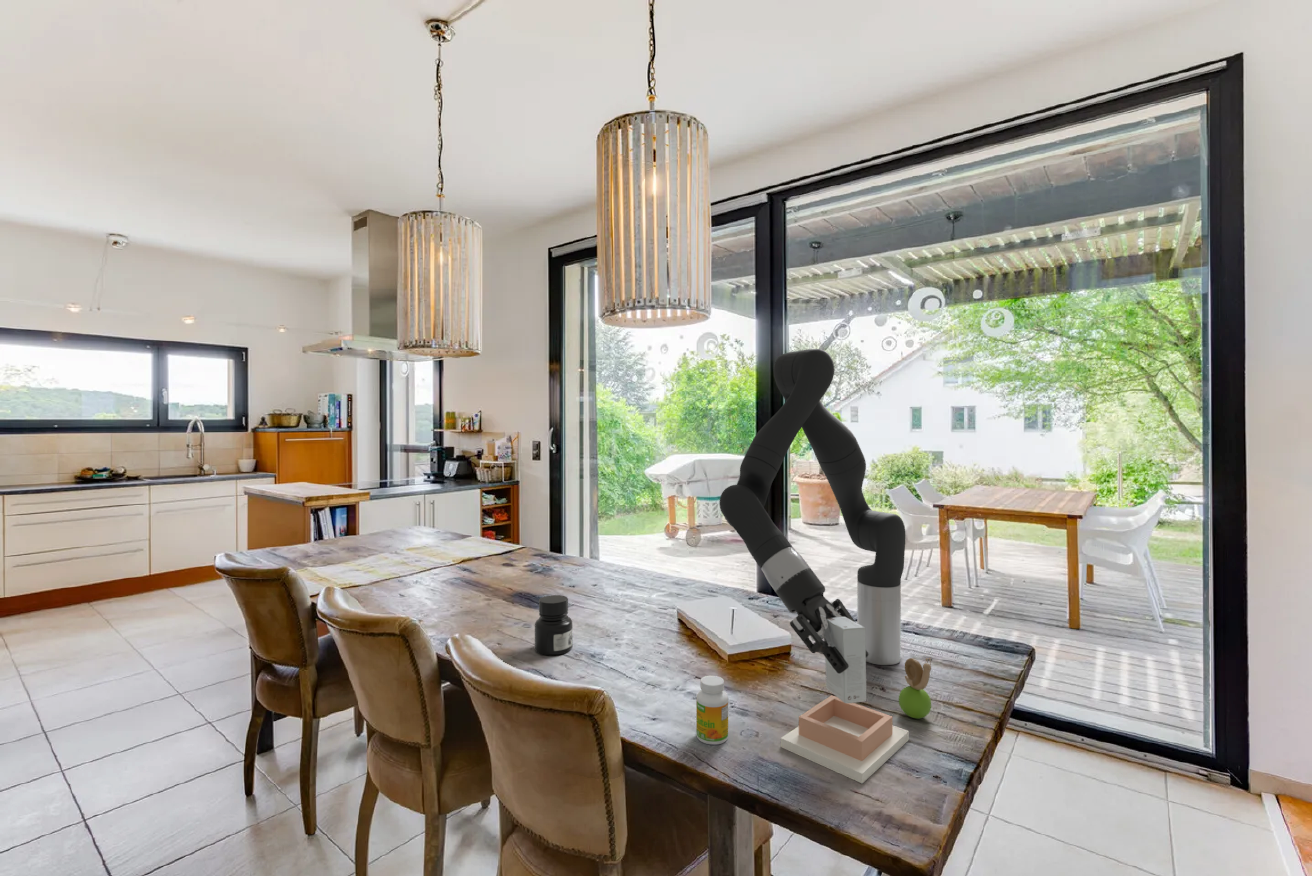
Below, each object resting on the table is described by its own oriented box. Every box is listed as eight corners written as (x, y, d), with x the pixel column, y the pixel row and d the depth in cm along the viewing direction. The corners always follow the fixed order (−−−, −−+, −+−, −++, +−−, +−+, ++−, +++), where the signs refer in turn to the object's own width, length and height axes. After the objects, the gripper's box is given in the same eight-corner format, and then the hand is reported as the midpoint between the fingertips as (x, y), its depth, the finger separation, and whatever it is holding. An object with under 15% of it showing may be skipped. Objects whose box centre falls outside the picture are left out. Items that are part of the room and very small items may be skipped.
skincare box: (867, 701, 95) (868, 627, 94) (843, 705, 93) (843, 629, 93) (846, 685, 100) (846, 615, 100) (822, 688, 99) (823, 617, 99)
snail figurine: (916, 729, 102) (917, 660, 101) (892, 712, 108) (892, 647, 108) (942, 724, 103) (942, 657, 103) (916, 707, 109) (916, 644, 109)
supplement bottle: (690, 739, 98) (690, 682, 98) (705, 726, 103) (705, 671, 103) (719, 749, 95) (718, 690, 95) (733, 734, 100) (733, 678, 100)
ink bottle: (564, 658, 133) (563, 606, 133) (527, 655, 135) (527, 604, 135) (578, 643, 143) (578, 594, 143) (544, 640, 145) (543, 592, 144)
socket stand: (832, 711, 108) (832, 687, 108) (908, 740, 98) (908, 713, 98) (780, 747, 96) (780, 720, 96) (862, 783, 86) (862, 753, 86)
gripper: (782, 574, 97) (849, 665, 89) (826, 560, 107) (889, 641, 99) (756, 599, 101) (817, 689, 92) (800, 583, 111) (859, 663, 103)
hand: (854, 664), depth 96 cm, fingers closed on skincare box, 6 cm apart
